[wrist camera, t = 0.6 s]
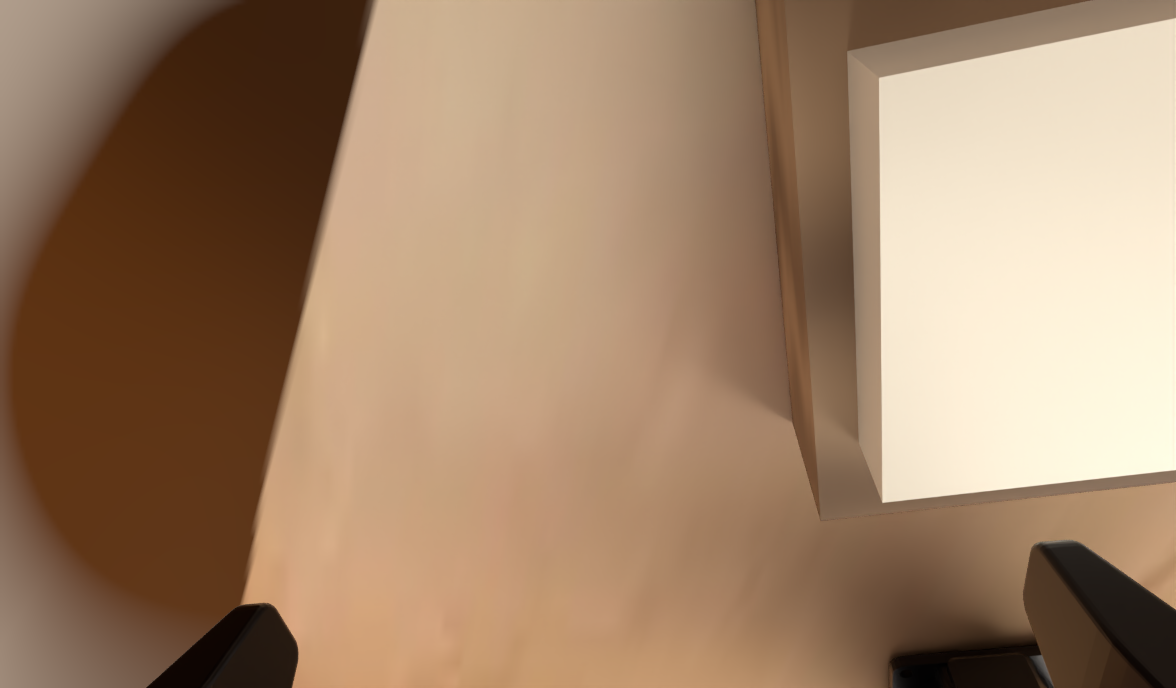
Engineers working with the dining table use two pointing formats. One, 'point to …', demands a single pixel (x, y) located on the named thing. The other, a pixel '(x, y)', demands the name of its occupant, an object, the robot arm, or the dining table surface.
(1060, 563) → the robot arm
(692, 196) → the dining table surface
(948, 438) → the cream rectangular tile
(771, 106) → the brown wooden flat block
